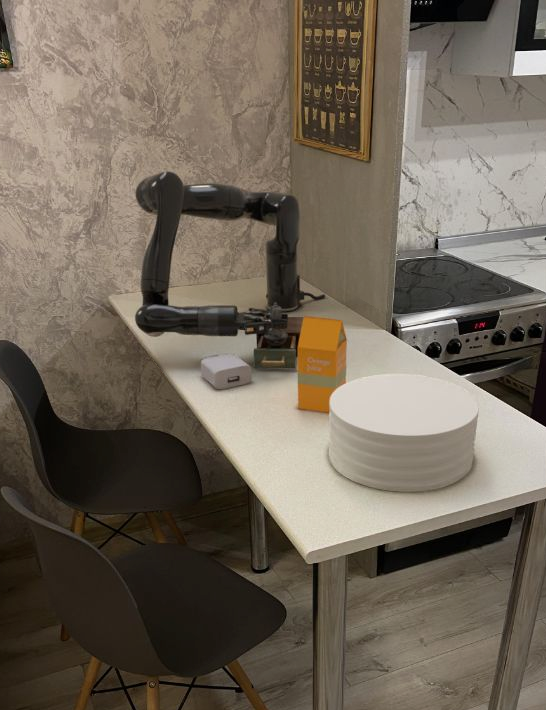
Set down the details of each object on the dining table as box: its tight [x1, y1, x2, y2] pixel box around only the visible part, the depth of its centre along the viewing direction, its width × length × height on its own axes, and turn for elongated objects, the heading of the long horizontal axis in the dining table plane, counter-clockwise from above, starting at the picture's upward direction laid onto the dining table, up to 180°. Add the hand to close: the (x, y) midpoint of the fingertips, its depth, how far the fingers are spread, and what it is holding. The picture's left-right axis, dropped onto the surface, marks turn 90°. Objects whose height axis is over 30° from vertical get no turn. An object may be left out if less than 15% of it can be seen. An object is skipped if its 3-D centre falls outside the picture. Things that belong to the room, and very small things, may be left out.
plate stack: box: [328, 373, 480, 493], centre depth 145 cm, size 28×28×12 cm
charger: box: [200, 353, 252, 390], centre depth 183 cm, size 5×9×15 cm
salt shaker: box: [264, 302, 288, 349], centre depth 187 cm, size 6×6×12 cm
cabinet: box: [255, 316, 304, 357], centre depth 199 cm, size 12×11×6 cm
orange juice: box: [297, 315, 348, 414], centre depth 164 cm, size 8×9×20 cm
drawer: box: [253, 335, 297, 370], centre depth 188 cm, size 16×10×5 cm, turn 176°
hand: (287, 321), depth 186 cm, fingers closed on salt shaker, 3 cm apart
